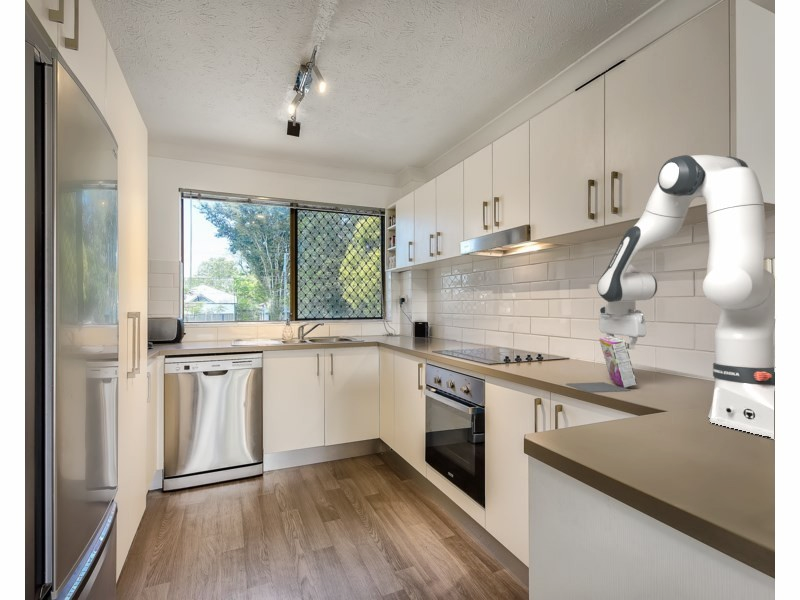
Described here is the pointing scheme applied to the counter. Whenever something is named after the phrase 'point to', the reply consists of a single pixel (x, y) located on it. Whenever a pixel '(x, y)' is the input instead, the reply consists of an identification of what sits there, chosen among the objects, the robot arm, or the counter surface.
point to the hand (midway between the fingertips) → (621, 347)
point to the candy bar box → (618, 361)
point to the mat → (597, 387)
